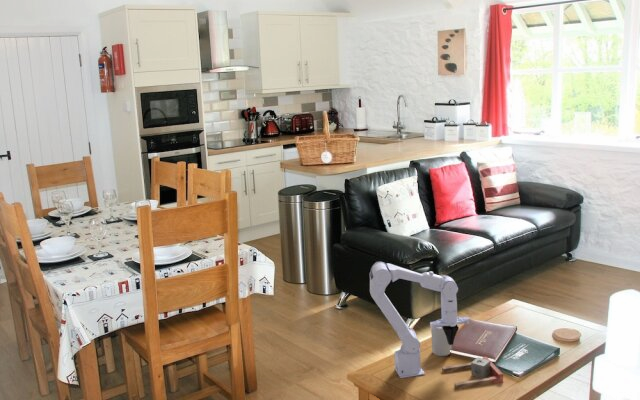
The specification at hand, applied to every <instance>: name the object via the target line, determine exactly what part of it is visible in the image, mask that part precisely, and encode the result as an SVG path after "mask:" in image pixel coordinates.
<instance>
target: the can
mask: <svg viewBox="0 0 640 400" xmlns="http://www.w3.org/2000/svg"><path fill="white" fill-rule="evenodd" d="M430 330H431V347H432V348H431V349H432V353H433V354H434V355H435V356H438V357H445V356H446V357H447V356H448V355H450V354H451V353H450V349H451V350H452V345H449V344H448V341H447V337H446V335H445V332H444V330H443V328H442V327H437V328H435V329H431V328H430Z"/></svg>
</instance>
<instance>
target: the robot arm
mask: <svg viewBox="0 0 640 400" xmlns="http://www.w3.org/2000/svg"><path fill="white" fill-rule="evenodd" d="M399 279H402V280H404V281H405V280H406V281H411V282H414V283H418V284H419V285H420V286H421V288H424V289H427V290H432V291H436V292H440V310H441V311H440V312H441V315H440V316H441V319H440V318H439V319H437V320H434V321H430V322H429V328H430V330H431V329H435V328H437V327H442V328H443V330H444V332H445V335H446V337H447V341H448V344H449V345H451V346H452V345H454V341H455V337H456V335H457V333H458V331H459V329H460V328H459V326H458V325H464V324H465V325H468V324H470V318H469V317H468V316H463V317H460V316H459V317H458V301H457V300H458V299H457V293H458V292H459V287H458V285H457V283H456V281H455V280H454V279H453V277H451V276H449V275H444V274H443V275H438V274H436V273H434V271H428V272H427V271H425V272H422V273H419V272H417V271H413V270H410V269H408V268H404V267H401V266H398V265H395V264H392V263H388V262H387V263H386V262H383V261H376V262H375V263H374V264H373V265H372V266H371V268H370V272H369V293H370V296H371V298H372V299H373V301H374V302H375V304H376V305H377V306H378V308H379V309H380V311H381V312H382V314H383V316H385V318H386V319H387V321H388V323H389V324H390V325H391V327H392V328H393V330H394V331H395V332H396V334H397V336H398V338H399V340H400V341H401V346H400V349H398V350H396V351H394V353H393V354H394V370H395V372H396V373H397V375H398V377H399V378H400V379H403V378H411V377H418V376H422V375H423V376H424V375H426V373H425V371H424V370H423V369H422V365H421V342H420V340H419V338H418V336H417V333H416V331H415V330H414V329H413V328H411V327H410V326H409V325H408V324H407V323H406V321H405V320H404V319H403V317H402V316H401V315H400V313H399V312H398V310H397V309H396V307H395V306H394V305H393V303H392V302H391V300H390V299H389V297H388V296H387V295H386V293H385V291H386V288H387V287H388V285H389V284H390V283H391V282H392V283H394V282H395V281H397V280H399Z"/></svg>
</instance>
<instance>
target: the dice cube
mask: <svg viewBox="0 0 640 400" xmlns="http://www.w3.org/2000/svg"><path fill="white" fill-rule="evenodd" d="M489 360H490V359H489ZM489 360H486V359H483V357H482V358H481V357H476V358H475V359H474V360H473V361H471V362H470V363H471V370H470V371H471V372H470V373H471V376H473V375H474V376H473V377H476V376H477V378H479V379H484V378H488V376H489V375H492V374H491V365H490V361H491V360H490V361H489Z"/></svg>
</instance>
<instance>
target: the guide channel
mask: <svg viewBox="0 0 640 400" xmlns="http://www.w3.org/2000/svg"><path fill="white" fill-rule="evenodd" d="M482 359H486V360H489V361H490V365H491V374H490V375H492V376H490V377H486V378H484V379H483V378H479V379H473V380H467V381H466V380H464V381H460V382H459V381H458V382H454V388H455V390H459V389H465V388H472V387H478V386H485V385H491V384H497V383H503V382H504V373H503V372H501V371H502V370H500V369H499V368H498V367H497V365H495V364H494V363H493V362H492V361H491V360H490V359H489V358H488V357H487V356H483V357H482ZM470 368H471V362H468V363H462V364H461V363H459V364H455V365H454V364H452V365H448V366H443V367H441V371H442V372H443V373H451V372H457V371H465V370H469V369H470Z"/></svg>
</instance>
